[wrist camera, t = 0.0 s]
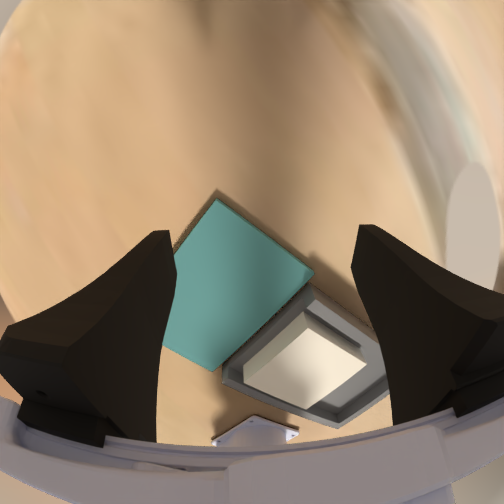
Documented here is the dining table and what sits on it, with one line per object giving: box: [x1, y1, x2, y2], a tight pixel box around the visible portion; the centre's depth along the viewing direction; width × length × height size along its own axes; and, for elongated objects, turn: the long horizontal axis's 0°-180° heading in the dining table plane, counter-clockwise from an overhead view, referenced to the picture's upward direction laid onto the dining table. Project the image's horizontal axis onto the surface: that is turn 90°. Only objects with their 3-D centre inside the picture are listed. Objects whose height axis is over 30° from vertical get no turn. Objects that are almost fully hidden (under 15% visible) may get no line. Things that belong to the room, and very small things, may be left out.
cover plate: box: [243, 311, 367, 409], centre depth 26 cm, size 8×8×2 cm
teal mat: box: [162, 198, 314, 372], centre depth 24 cm, size 14×10×1 cm
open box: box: [222, 283, 390, 429], centre depth 27 cm, size 12×17×2 cm
